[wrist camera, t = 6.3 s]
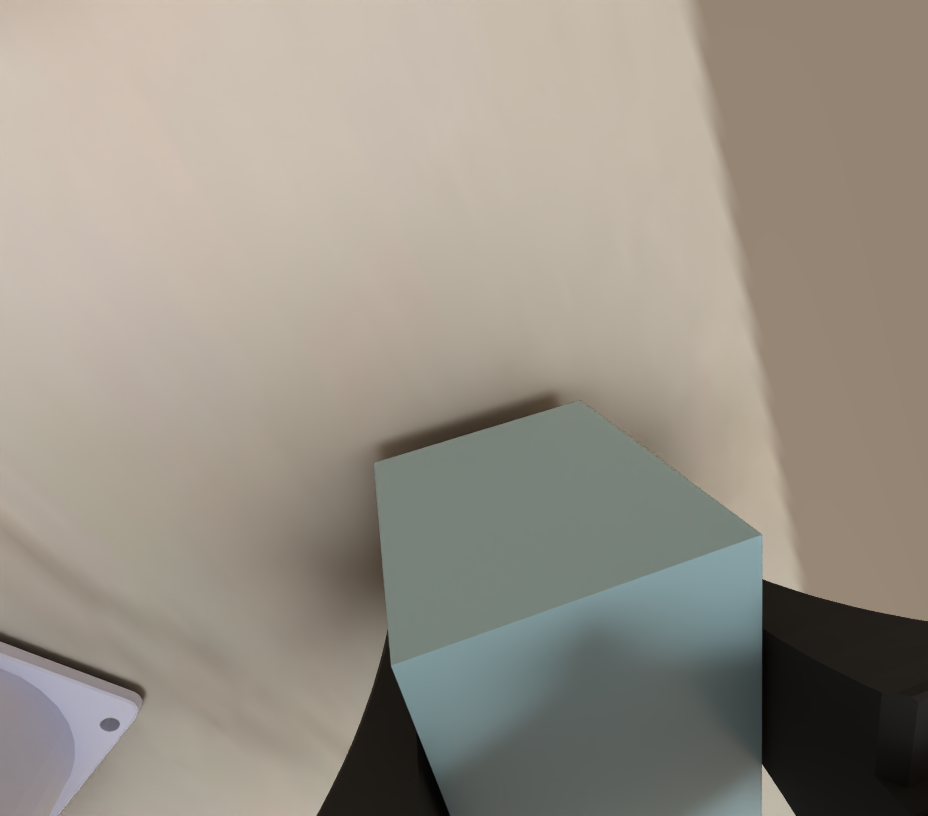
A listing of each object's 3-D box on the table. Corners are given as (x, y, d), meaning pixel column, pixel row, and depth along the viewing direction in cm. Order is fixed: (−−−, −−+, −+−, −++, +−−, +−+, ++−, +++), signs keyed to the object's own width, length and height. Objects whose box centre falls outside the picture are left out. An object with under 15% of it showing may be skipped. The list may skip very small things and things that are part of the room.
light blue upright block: (614, 629, 17) (761, 853, 11) (450, 689, 16) (509, 962, 10) (580, 400, 14) (762, 534, 8) (373, 463, 13) (390, 666, 7)
